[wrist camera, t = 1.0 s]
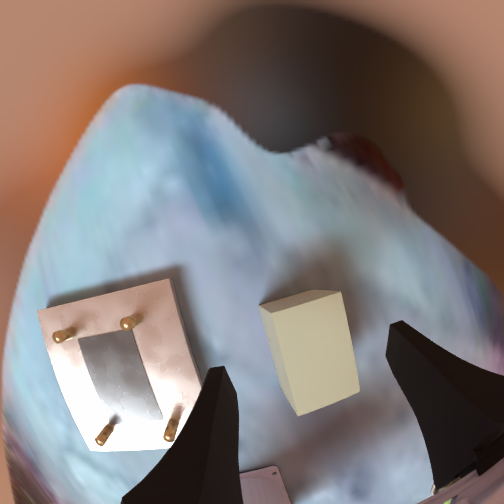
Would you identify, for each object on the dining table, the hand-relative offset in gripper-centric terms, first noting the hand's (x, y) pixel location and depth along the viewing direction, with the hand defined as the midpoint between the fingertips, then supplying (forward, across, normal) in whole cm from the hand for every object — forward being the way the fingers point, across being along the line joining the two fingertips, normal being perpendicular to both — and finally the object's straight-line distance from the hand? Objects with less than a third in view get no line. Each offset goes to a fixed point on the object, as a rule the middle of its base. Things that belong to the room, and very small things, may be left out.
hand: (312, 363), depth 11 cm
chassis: (+8, +16, +7) cm, 19 cm away
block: (+10, 0, +8) cm, 13 cm away
